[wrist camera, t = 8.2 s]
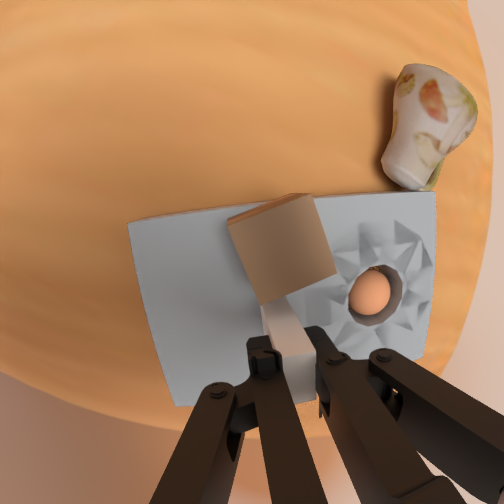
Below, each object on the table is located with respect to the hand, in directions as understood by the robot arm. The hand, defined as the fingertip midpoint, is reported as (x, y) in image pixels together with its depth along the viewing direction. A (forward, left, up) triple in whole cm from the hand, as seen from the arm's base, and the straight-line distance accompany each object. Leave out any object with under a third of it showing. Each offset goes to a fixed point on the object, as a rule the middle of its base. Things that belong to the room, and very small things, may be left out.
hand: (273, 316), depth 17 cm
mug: (+13, +11, -5) cm, 18 cm away
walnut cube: (0, +5, -1) cm, 5 cm away
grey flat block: (+2, 0, -4) cm, 5 cm away
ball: (+8, -1, -3) cm, 8 cm away
